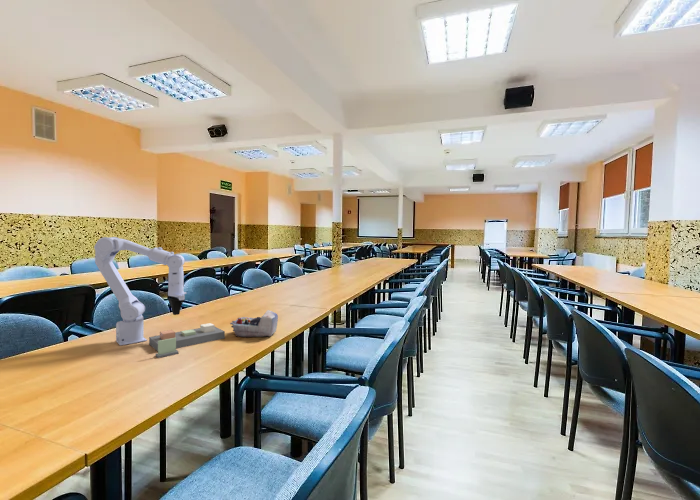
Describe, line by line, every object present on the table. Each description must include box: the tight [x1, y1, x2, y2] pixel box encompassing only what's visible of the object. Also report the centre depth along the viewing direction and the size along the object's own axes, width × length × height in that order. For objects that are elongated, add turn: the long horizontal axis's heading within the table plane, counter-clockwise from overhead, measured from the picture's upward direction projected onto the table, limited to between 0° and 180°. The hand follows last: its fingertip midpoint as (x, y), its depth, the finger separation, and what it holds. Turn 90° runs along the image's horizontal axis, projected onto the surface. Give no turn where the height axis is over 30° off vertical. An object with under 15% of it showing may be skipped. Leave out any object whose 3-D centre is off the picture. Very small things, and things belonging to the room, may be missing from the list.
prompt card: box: [155, 338, 179, 359], centre depth 126 cm, size 7×3×6 cm, turn 135°
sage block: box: [181, 328, 196, 337], centre depth 142 cm, size 4×4×4 cm
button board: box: [148, 326, 226, 352], centre depth 142 cm, size 26×12×3 cm, turn 135°
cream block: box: [199, 322, 216, 333], centre depth 148 cm, size 4×4×4 cm
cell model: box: [229, 309, 279, 338], centre depth 154 cm, size 13×11×20 cm
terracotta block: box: [159, 329, 176, 340], centre depth 136 cm, size 4×4×4 cm
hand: (176, 314), depth 145 cm, fingers closed
